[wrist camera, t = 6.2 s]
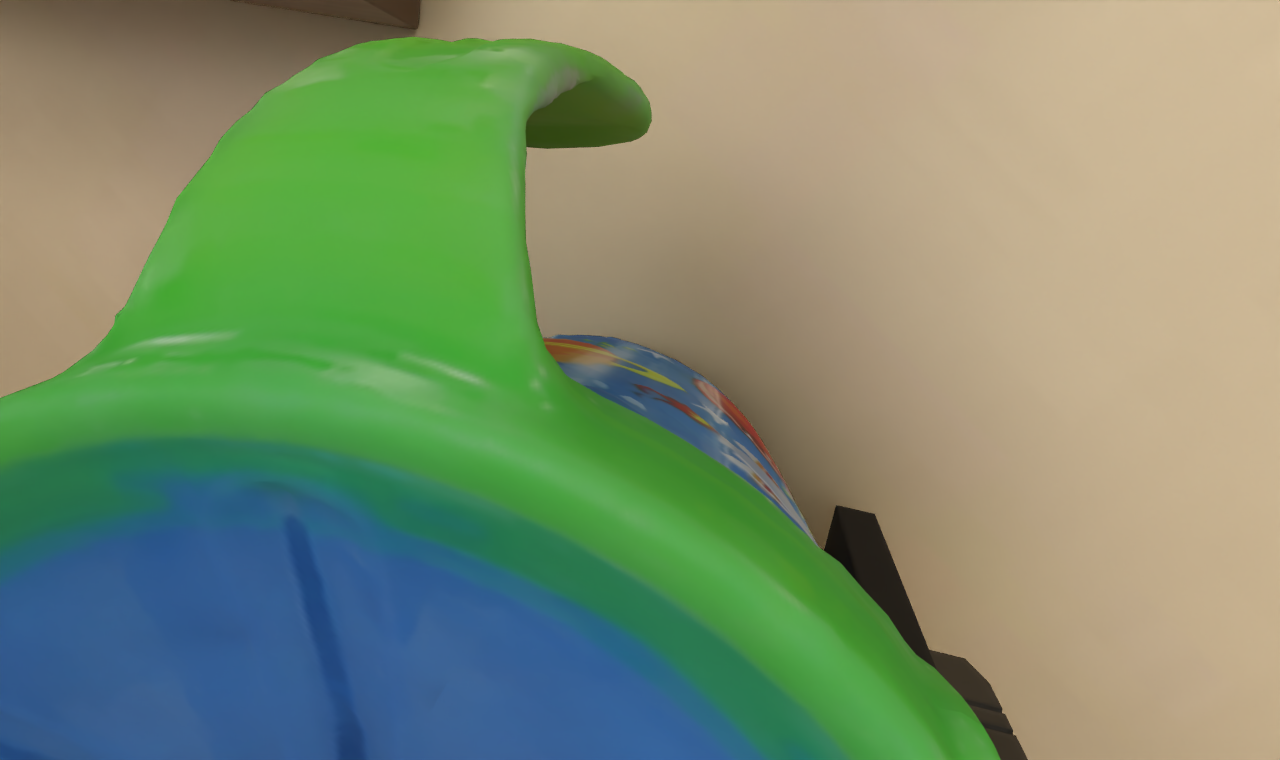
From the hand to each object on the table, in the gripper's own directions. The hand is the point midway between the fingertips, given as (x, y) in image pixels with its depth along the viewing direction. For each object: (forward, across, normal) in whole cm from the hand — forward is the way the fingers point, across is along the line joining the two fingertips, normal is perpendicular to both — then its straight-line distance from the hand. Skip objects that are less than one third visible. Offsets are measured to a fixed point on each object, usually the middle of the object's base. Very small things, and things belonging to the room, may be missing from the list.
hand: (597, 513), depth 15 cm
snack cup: (+1, 0, 0) cm, 1 cm away
